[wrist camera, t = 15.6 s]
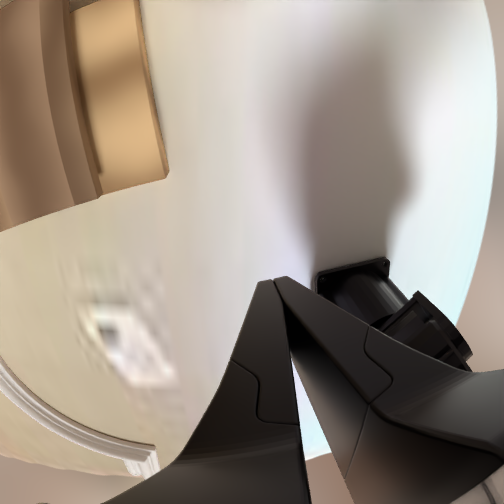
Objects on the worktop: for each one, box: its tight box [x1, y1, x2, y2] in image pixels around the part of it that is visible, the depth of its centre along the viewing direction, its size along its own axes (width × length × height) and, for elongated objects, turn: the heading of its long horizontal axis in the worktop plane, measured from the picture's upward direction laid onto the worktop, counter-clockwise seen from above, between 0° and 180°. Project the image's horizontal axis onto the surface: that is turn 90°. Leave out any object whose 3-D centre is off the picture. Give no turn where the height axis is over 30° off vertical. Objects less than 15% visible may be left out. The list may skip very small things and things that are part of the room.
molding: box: [0, 356, 161, 480], centre depth 27 cm, size 42×12×3 cm, turn 35°
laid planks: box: [0, 0, 103, 232], centre depth 13 cm, size 12×14×4 cm
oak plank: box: [70, 0, 169, 195], centre depth 15 cm, size 12×5×2 cm, turn 8°
